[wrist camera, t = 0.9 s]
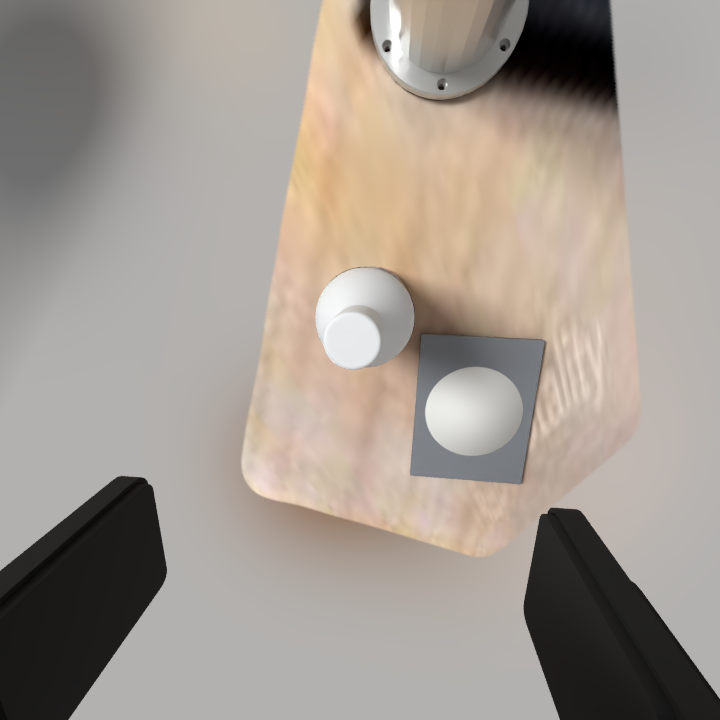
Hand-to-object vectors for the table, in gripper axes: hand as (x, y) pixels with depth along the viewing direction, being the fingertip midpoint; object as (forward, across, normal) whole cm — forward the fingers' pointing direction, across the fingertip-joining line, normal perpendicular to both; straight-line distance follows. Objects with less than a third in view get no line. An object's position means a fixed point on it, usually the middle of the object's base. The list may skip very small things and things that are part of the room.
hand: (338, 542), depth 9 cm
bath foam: (+30, +1, -2) cm, 30 cm away
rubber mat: (+30, -10, +9) cm, 33 cm away
